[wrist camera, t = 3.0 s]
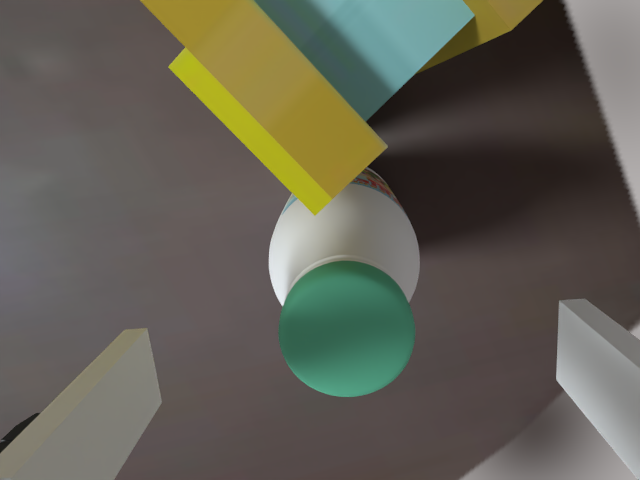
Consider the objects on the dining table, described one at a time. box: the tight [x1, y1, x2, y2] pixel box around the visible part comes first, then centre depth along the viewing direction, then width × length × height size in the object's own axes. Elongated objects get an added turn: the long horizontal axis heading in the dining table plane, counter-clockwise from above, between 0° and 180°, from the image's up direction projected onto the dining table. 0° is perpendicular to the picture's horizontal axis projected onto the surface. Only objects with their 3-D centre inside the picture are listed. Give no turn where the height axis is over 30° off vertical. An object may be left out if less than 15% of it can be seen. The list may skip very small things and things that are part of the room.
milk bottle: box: [269, 167, 420, 397], centre depth 25 cm, size 8×8×20 cm
